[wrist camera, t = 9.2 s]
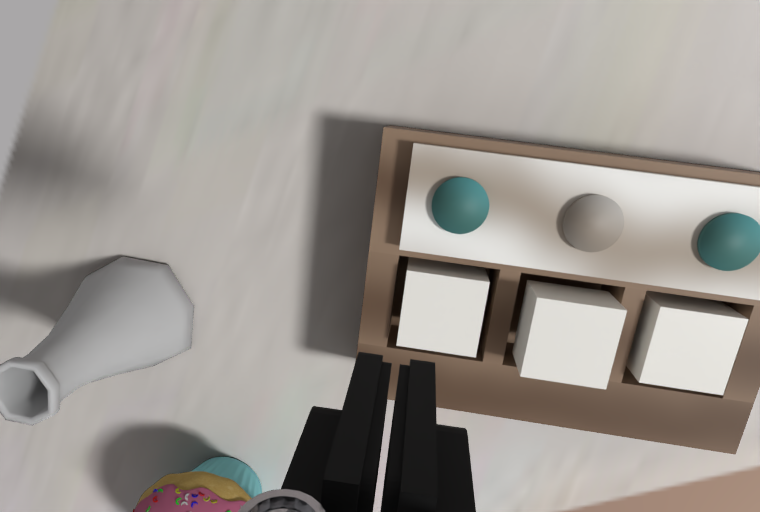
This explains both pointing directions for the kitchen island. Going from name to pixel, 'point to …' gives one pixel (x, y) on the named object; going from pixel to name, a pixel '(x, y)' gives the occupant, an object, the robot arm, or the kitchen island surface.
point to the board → (503, 318)
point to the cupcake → (203, 489)
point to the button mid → (568, 334)
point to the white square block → (685, 342)
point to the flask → (100, 337)
